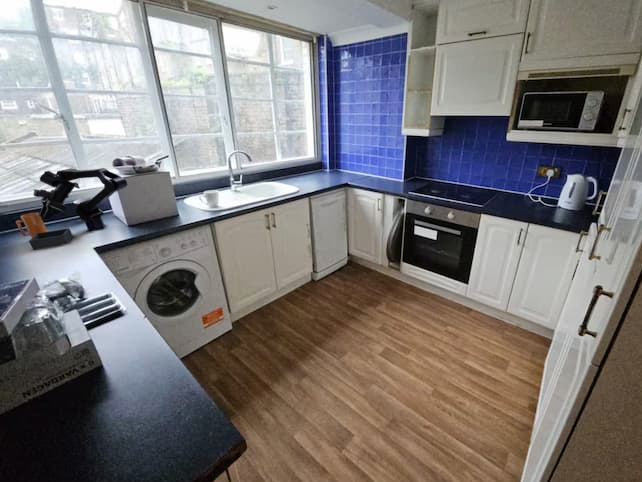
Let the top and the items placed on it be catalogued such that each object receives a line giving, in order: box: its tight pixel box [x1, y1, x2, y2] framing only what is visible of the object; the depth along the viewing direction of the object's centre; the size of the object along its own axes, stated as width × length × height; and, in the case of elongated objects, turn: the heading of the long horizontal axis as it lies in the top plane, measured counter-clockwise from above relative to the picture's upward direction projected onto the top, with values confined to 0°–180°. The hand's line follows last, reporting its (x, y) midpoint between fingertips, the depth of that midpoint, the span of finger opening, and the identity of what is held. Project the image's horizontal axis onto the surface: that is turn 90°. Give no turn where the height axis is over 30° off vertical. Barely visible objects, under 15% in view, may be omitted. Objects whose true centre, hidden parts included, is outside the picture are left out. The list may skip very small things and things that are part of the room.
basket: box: [28, 227, 74, 251], centre depth 144 cm, size 12×11×5 cm
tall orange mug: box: [15, 212, 49, 239], centre depth 146 cm, size 9×6×13 cm
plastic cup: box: [73, 197, 93, 216], centre depth 174 cm, size 11×11×12 cm
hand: (42, 217), depth 148 cm, fingers open, 9 cm apart
